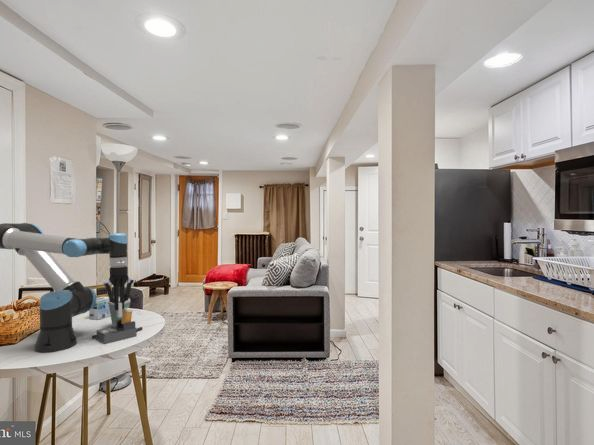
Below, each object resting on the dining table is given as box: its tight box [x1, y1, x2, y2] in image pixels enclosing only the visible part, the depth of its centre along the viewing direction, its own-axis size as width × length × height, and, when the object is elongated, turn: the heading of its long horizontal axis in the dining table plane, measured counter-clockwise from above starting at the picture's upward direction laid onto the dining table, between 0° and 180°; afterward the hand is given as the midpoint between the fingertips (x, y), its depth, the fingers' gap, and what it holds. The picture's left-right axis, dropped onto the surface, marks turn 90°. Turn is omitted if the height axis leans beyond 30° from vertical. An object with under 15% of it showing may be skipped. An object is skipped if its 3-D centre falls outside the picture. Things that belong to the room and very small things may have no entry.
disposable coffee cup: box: [108, 296, 131, 327], centre depth 184 cm, size 11×11×15 cm
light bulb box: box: [88, 296, 111, 321], centre depth 203 cm, size 11×7×11 cm, turn 164°
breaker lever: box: [121, 307, 133, 326], centre depth 170 cm, size 2×6×8 cm, turn 48°
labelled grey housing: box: [95, 319, 138, 345], centre depth 166 cm, size 14×10×7 cm
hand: (119, 316), depth 167 cm, fingers closed
